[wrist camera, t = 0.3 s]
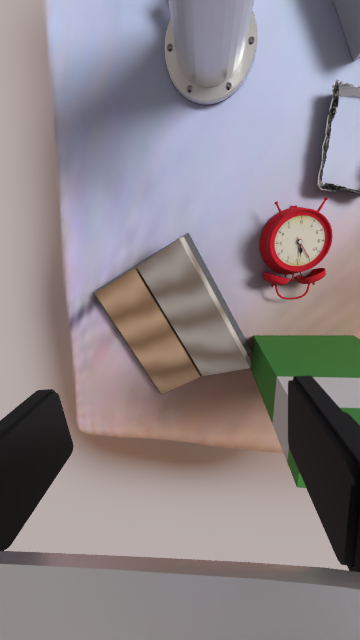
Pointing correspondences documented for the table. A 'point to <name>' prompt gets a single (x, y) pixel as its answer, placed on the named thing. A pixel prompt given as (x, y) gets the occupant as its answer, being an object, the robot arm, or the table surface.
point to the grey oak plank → (194, 310)
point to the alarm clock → (295, 244)
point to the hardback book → (301, 360)
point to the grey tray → (350, 24)
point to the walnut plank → (148, 331)
